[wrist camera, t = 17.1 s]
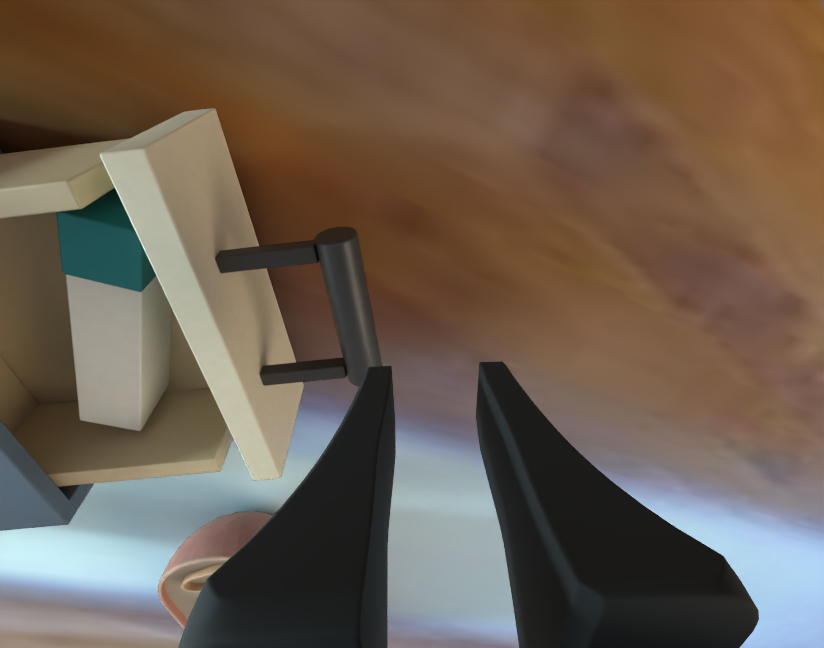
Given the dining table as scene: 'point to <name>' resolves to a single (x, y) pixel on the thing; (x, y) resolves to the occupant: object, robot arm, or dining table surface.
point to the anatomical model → (204, 559)
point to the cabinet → (32, 489)
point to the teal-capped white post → (114, 315)
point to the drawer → (189, 298)
